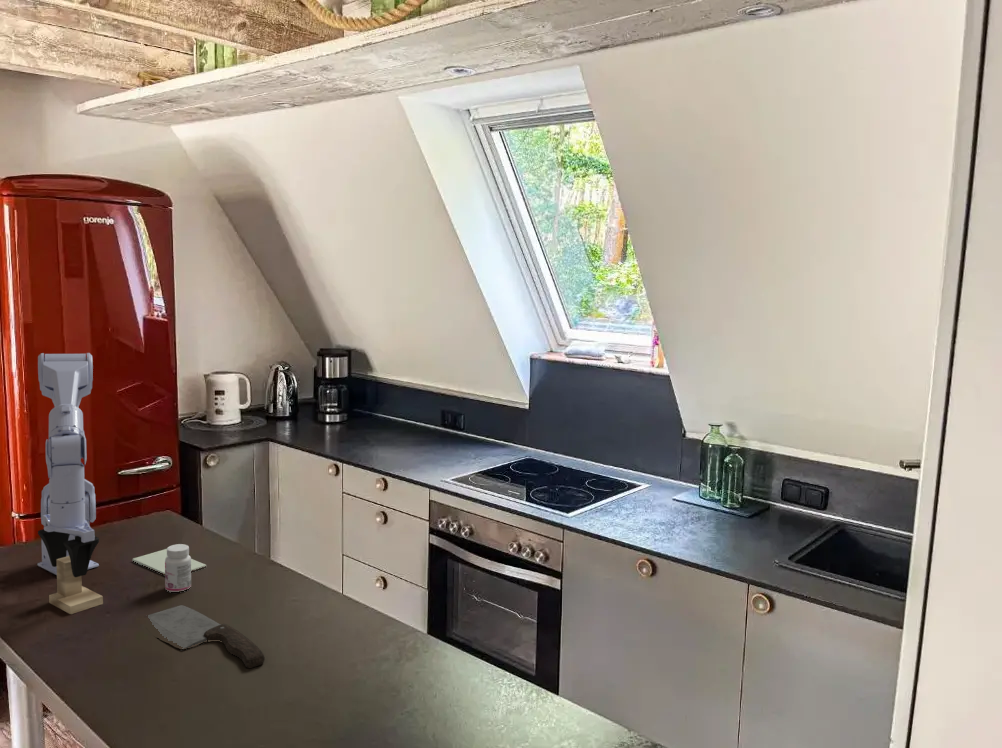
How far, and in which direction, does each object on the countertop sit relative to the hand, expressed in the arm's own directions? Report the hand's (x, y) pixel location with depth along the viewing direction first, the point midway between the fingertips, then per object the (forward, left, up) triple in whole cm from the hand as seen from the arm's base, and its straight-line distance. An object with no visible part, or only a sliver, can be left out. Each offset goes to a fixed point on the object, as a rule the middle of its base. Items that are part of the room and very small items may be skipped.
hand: (69, 570), depth 152 cm
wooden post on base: (+2, 0, -6) cm, 6 cm away
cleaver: (+31, +6, -7) cm, 33 cm away
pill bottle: (+10, +16, -6) cm, 20 cm away
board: (-2, +22, -6) cm, 23 cm away
